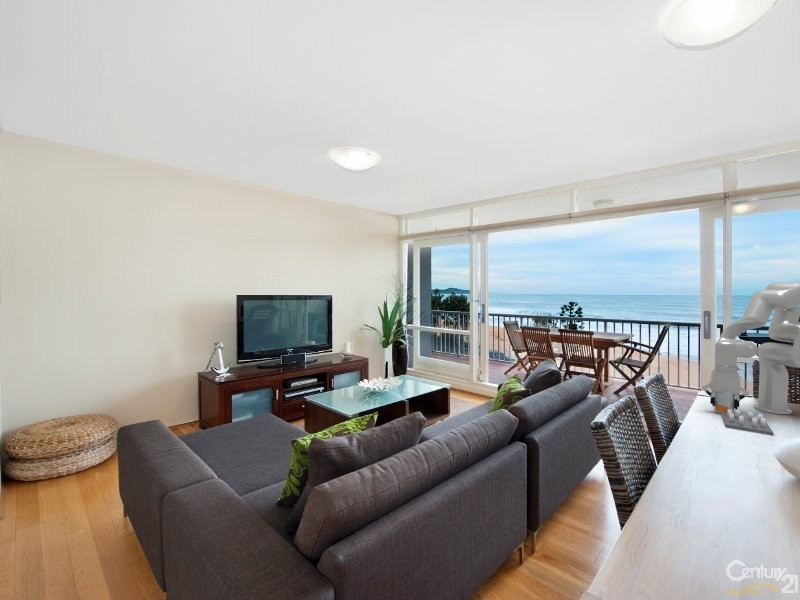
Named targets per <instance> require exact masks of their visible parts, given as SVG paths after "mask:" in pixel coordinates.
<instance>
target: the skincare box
mask: <svg viewBox="0 0 800 600" xmlns="http://www.w3.org/2000/svg"><path fill="white" fill-rule="evenodd" d="M714 397H715V406H713V409H714V412H715V413H717V414H721V415H722V414H727V415H728V409H730V410H732V413H733V414H734V415H735V413H736V409H735V396H734V395H733V394H732V389H725V391H724V392H723V393H716V394H715V396H714Z"/></svg>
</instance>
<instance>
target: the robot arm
mask: <svg viewBox="0 0 800 600" xmlns="http://www.w3.org/2000/svg"><path fill="white" fill-rule="evenodd" d="M765 287H766V288H765V289H759V290H757V291H755V292H754V293H753V294H752V297H750V300H749V302H748V305H747V306H746V308H745V311H744V312H743V314H742V316H741V317H740V318H739V319H737V320H735V321H734V322H732V323H731V324H729V325H728V326H727V327H725V328H724V329H723V331H722V332H721V334H720V336H719V338H718V340H717V341H716V342H715V343H714V369H712V370H711V373H710V379H709V380H710V382H709V383H706V384H705V385H703V386H702V387H701V389H702V390H703V391H704V392H705V393H706V394H707V395H708V396H709V397H710V404H711V405H712V407H714V406H715V394H716V393H723V392H724V391H725V389H732V394H733V395H734V396H735V411H736V410H738V408H740V402H741V400H744V399H745V398H746V397H747V396H749V395H750V392H749V391H748V390H746V389H745V388H744V387H742V386H741V381H740V374H739V371H742V367H741V366H738V364H737V363H738V358H745V359H746V358H747V359H750V358H753V357H755V356H756V355H757V358H758V362H759V363H758V364H759V376H758V377H759V380H758V401H757V403H754V404H753V408H754V409H756V410H759V411H761V412H765V413H771V414H776V415H777V414H778V415H791V414H792V413H793V412H792V410H791V409H789V408H788V396H789V395H788V393H789V390H788V389H789V372H788V369H787V368H786V367H793V368H800V321H799V319H800V308H799V307H798V306H800V281H798V282H797V281H793V282H792V281H791V282H790V281H789V282H788V281H787V282H786V281H780V282H772V283H769V284H768V285H767V286H765ZM772 312H773V314H772ZM771 315H772V318H771V322H770V324H769V327H768V330H767V331H768V332H767V333H768V337H769V338H770V339H772V340H774V341H778V342H763V343H762V344H760V345H759V346H757V344H755V343H754V342H751V341H748V340H740V339H736V338H737V337H738V336H740V335H741V334H742V333H744V332H745V333H746V332H747V331H751V330H754V329H758V328H762V327H764V326H766V325H767V322H768V321H769V319H770V317H771ZM779 341H780V343H779ZM781 342H785V343H786V342H787V343H792V344H793V345H792V344H785V343H781ZM785 366H786V367H785ZM708 388H709V389H710V390H711V391H710V390H708ZM741 392H743V393H741Z"/></svg>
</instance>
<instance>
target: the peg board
mask: <svg viewBox="0 0 800 600" xmlns="http://www.w3.org/2000/svg"><path fill="white" fill-rule="evenodd" d="M747 413H748V414H747V415H748V416H747V417H744V416H743V415H741V410H740V409H737V410H736V409H735V413H734V414H733V413H732V410H730V409H728V415H727V414H722V413H721V418H722V421H723V423H724V426H725V428H728V429H732V430H733V429H734V430H739V431H746V432H751V433H756V434H762V435H768V436H774V431H773V430H772V428H771V427H770V425H769V424H768V423H767V419H766V418H764V414H761V413H758V414H757V418H756V417H754V412H753V411H750V410H749V411H748V412H747Z"/></svg>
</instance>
